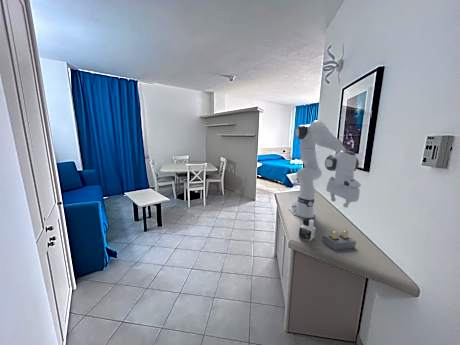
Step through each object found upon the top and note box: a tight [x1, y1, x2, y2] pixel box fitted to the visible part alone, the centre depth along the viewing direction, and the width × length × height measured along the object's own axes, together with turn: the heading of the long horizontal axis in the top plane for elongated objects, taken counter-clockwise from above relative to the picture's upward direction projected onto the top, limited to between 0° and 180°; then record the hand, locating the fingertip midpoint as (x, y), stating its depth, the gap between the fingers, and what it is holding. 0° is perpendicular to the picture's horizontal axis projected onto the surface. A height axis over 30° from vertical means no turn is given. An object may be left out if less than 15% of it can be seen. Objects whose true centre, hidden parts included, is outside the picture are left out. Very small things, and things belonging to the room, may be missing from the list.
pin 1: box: [330, 230, 339, 240], centre depth 118 cm, size 3×3×8 cm
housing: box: [321, 232, 357, 251], centre depth 119 cm, size 14×10×4 cm
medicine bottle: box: [298, 217, 316, 242], centre depth 124 cm, size 7×7×12 cm
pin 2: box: [341, 229, 349, 240], centre depth 119 cm, size 3×3×8 cm
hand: (339, 203), depth 114 cm, fingers open, 8 cm apart
